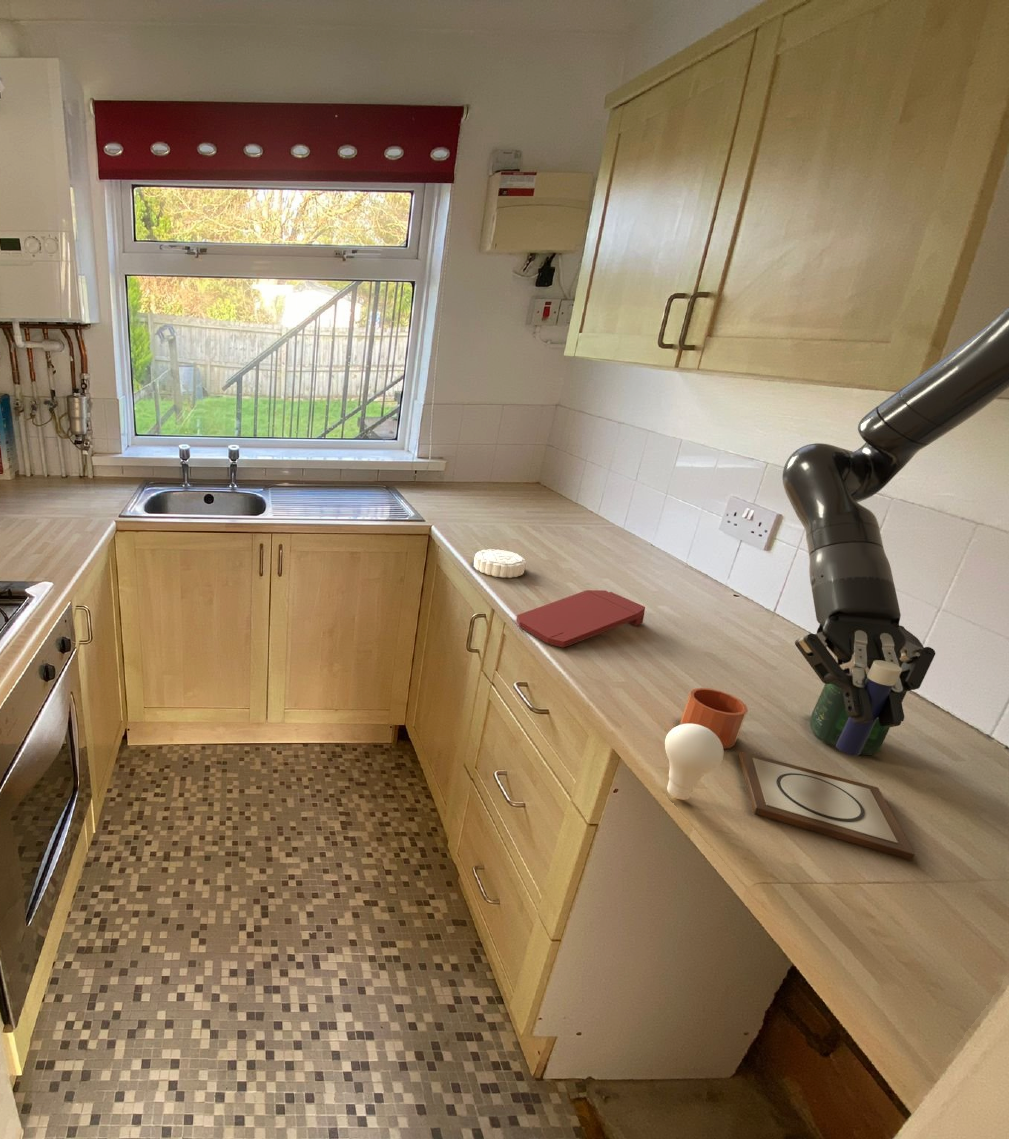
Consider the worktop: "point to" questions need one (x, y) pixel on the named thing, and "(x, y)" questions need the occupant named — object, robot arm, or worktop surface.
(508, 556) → the mooncake
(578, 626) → the red flat slab
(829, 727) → the coffee jar
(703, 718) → the pen pot
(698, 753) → the lightbulb
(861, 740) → the cylinder
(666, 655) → the worktop surface
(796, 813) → the picture frame
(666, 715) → the worktop surface
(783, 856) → the worktop surface
